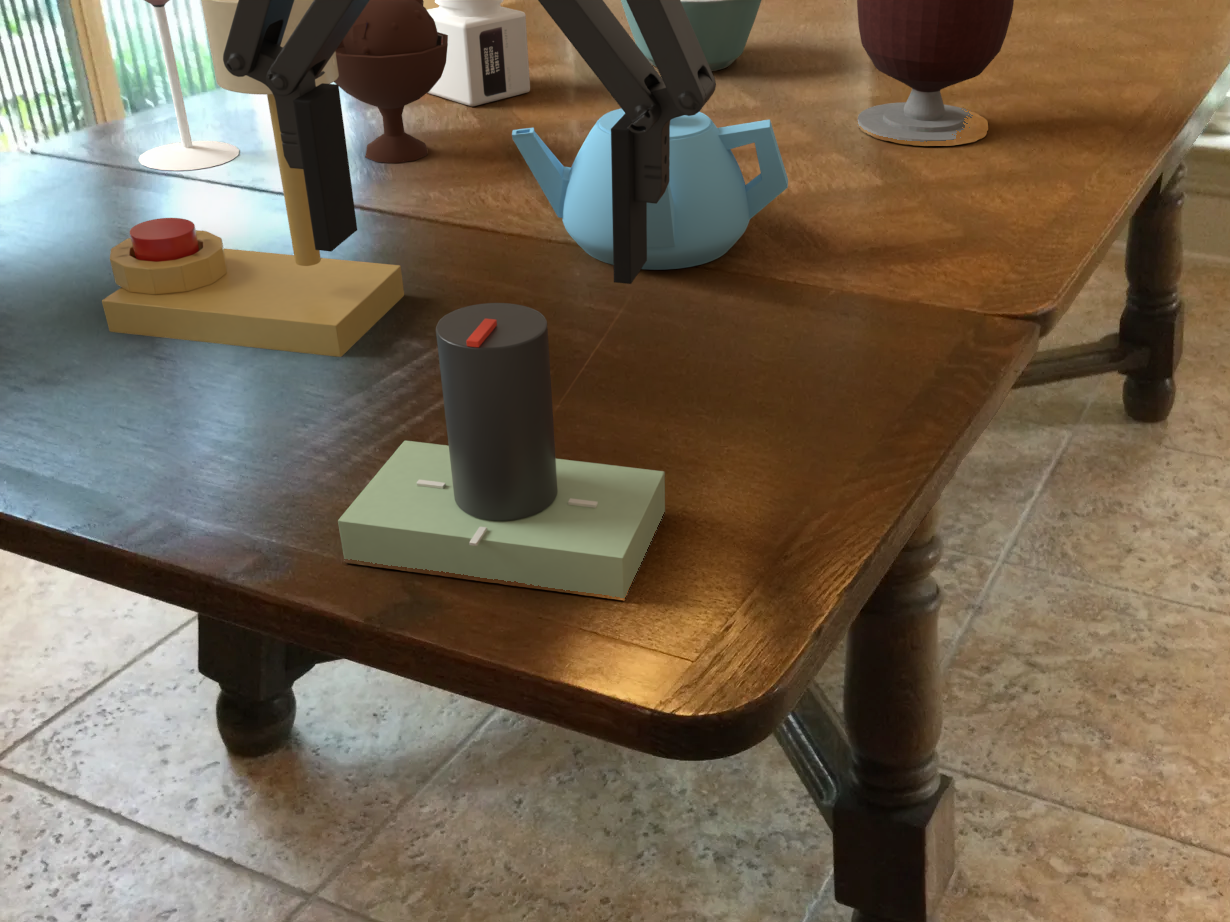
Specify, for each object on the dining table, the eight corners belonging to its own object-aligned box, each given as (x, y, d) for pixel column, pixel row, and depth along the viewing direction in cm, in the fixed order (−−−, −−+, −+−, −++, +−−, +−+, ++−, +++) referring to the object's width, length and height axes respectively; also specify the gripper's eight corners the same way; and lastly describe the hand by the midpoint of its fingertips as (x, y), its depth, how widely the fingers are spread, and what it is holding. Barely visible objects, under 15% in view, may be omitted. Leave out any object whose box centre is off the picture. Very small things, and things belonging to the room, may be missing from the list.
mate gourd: (904, 158, 119) (926, -90, 108) (820, 117, 129) (833, -113, 118) (1041, 135, 125) (1076, -101, 114) (951, 98, 135) (975, -122, 124)
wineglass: (216, 133, 122) (164, -137, 110) (260, 159, 116) (211, -123, 104) (118, 150, 117) (53, -129, 105) (159, 179, 111) (95, -114, 99)
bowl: (738, 88, 137) (740, 2, 132) (595, 73, 141) (592, -10, 136) (780, 52, 150) (783, -27, 145) (647, 39, 153) (646, -38, 149)
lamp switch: (122, 262, 87) (116, 236, 86) (156, 240, 90) (151, 215, 89) (179, 267, 86) (173, 241, 85) (211, 245, 90) (206, 220, 89)
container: (532, 92, 135) (523, -48, 127) (471, 108, 130) (459, -37, 123) (482, 78, 139) (471, -58, 132) (421, 92, 134) (406, -48, 127)
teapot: (651, 299, 92) (649, 142, 86) (511, 242, 101) (501, 95, 95) (797, 242, 101) (804, 97, 95) (658, 194, 110) (657, 58, 104)
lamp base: (88, 330, 87) (73, 271, 85) (172, 272, 95) (160, 217, 93) (341, 357, 84) (331, 297, 82) (404, 295, 92) (397, 239, 90)
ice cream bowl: (318, 144, 120) (291, -37, 111) (439, 129, 124) (422, -46, 116) (348, 179, 112) (322, -12, 104) (477, 162, 116) (461, -23, 108)
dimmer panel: (339, 570, 65) (331, 524, 63) (414, 475, 72) (408, 431, 71) (620, 609, 62) (619, 562, 61) (668, 506, 70) (667, 462, 68)
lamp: (230, 277, 84) (175, -2, 75) (283, 237, 90) (238, -26, 81) (334, 287, 83) (291, 6, 74) (381, 247, 89) (347, -19, 80)
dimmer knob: (475, 463, 68) (458, 291, 63) (570, 474, 67) (560, 301, 62) (438, 514, 64) (417, 335, 59) (539, 527, 63) (526, 346, 58)
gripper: (52, -327, 46) (176, 257, 58) (766, -301, 42) (742, 320, 54) (170, -330, 52) (260, 199, 64) (803, -307, 48) (774, 252, 60)
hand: (481, 256), depth 59 cm, fingers open, 13 cm apart
